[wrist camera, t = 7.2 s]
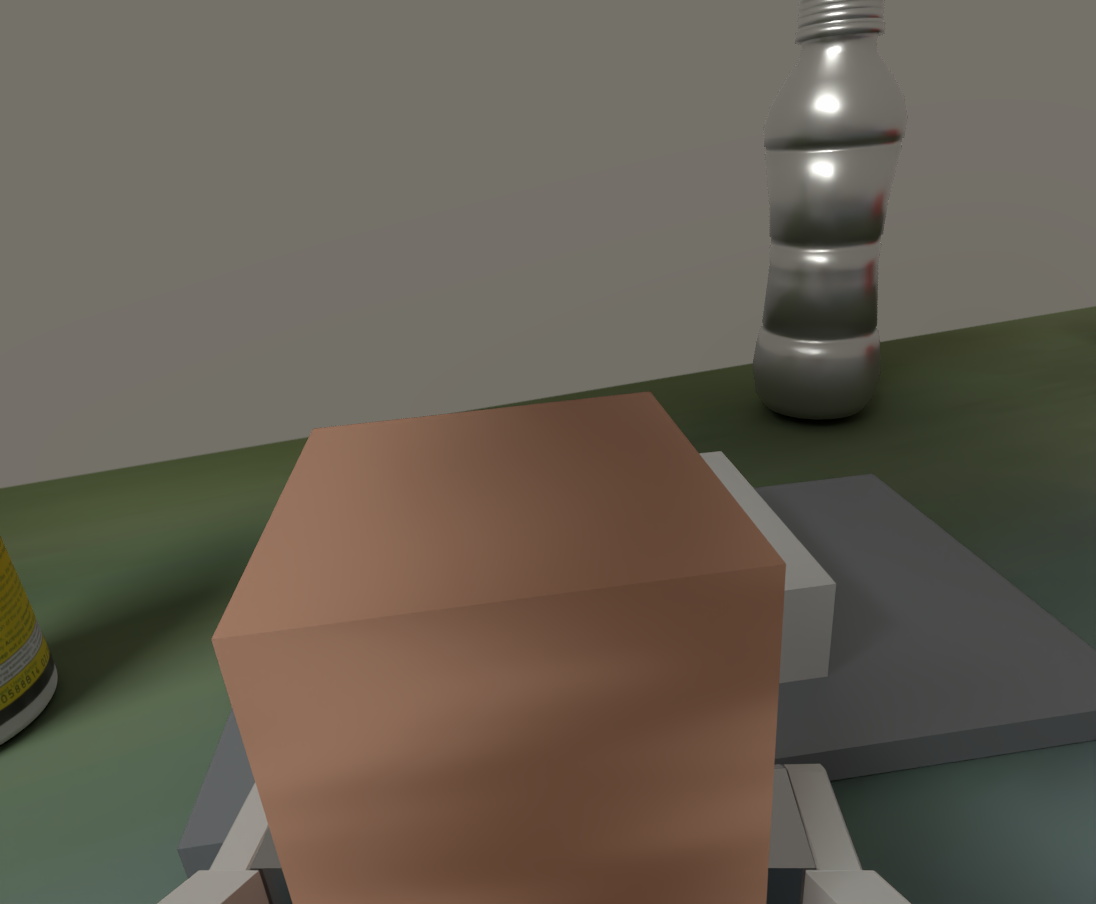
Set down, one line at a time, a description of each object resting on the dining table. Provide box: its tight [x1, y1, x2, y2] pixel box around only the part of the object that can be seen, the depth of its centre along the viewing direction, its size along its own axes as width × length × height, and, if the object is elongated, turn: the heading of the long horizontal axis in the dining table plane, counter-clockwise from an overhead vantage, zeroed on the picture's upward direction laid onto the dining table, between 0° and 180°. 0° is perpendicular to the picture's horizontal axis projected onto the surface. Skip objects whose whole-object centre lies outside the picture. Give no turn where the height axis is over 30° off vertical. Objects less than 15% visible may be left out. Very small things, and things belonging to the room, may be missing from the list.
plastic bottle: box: [753, 0, 908, 419], centre depth 37 cm, size 6×7×20 cm
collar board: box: [177, 451, 1096, 879], centre depth 24 cm, size 24×14×4 cm, turn 97°
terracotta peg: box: [211, 391, 786, 904], centre depth 10 cm, size 4×4×12 cm
